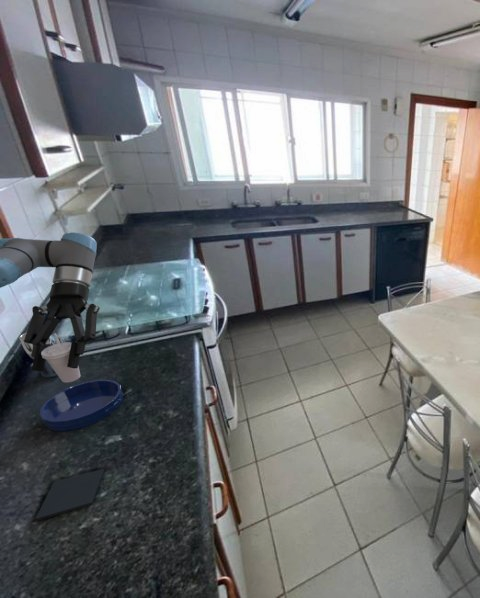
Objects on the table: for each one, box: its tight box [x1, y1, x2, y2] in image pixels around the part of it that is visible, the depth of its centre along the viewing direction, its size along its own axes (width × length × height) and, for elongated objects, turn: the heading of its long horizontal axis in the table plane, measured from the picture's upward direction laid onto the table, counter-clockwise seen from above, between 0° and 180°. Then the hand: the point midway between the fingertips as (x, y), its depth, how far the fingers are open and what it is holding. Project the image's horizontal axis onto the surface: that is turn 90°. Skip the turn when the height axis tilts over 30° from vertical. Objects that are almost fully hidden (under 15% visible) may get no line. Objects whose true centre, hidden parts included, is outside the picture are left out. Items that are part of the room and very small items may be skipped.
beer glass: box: [18, 331, 59, 379], centre depth 105 cm, size 7×7×15 cm
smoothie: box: [41, 332, 81, 384], centre depth 86 cm, size 6×6×14 cm
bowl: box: [39, 379, 124, 432], centre depth 95 cm, size 17×17×4 cm
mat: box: [35, 468, 105, 522], centre depth 73 cm, size 9×9×1 cm
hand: (55, 368), depth 84 cm, fingers closed on smoothie, 6 cm apart
